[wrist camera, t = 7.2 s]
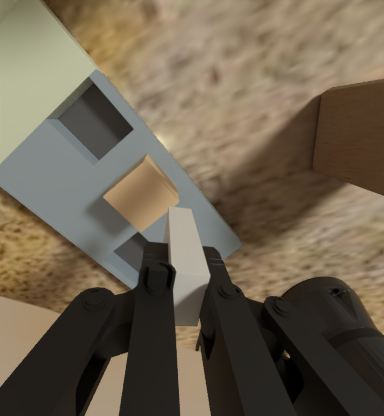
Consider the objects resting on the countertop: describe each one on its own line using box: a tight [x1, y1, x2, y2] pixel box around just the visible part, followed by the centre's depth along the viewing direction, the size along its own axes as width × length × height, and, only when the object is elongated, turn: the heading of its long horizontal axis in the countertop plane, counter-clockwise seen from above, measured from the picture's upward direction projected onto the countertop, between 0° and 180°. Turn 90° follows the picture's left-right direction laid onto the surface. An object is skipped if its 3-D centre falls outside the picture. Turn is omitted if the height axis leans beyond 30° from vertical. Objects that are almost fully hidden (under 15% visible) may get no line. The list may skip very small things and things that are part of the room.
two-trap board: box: [0, 0, 244, 289], centre depth 25 cm, size 34×16×6 cm, turn 38°
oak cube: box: [103, 153, 179, 232], centre depth 23 cm, size 5×5×5 cm
